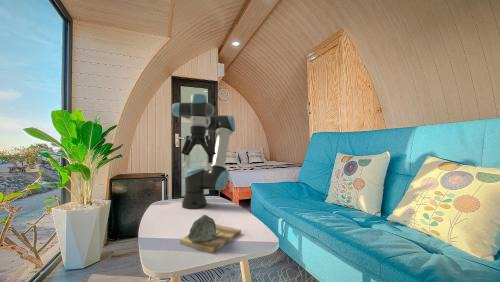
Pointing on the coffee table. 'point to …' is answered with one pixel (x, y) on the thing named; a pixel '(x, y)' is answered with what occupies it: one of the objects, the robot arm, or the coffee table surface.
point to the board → (214, 239)
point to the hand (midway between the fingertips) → (197, 168)
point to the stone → (202, 229)
